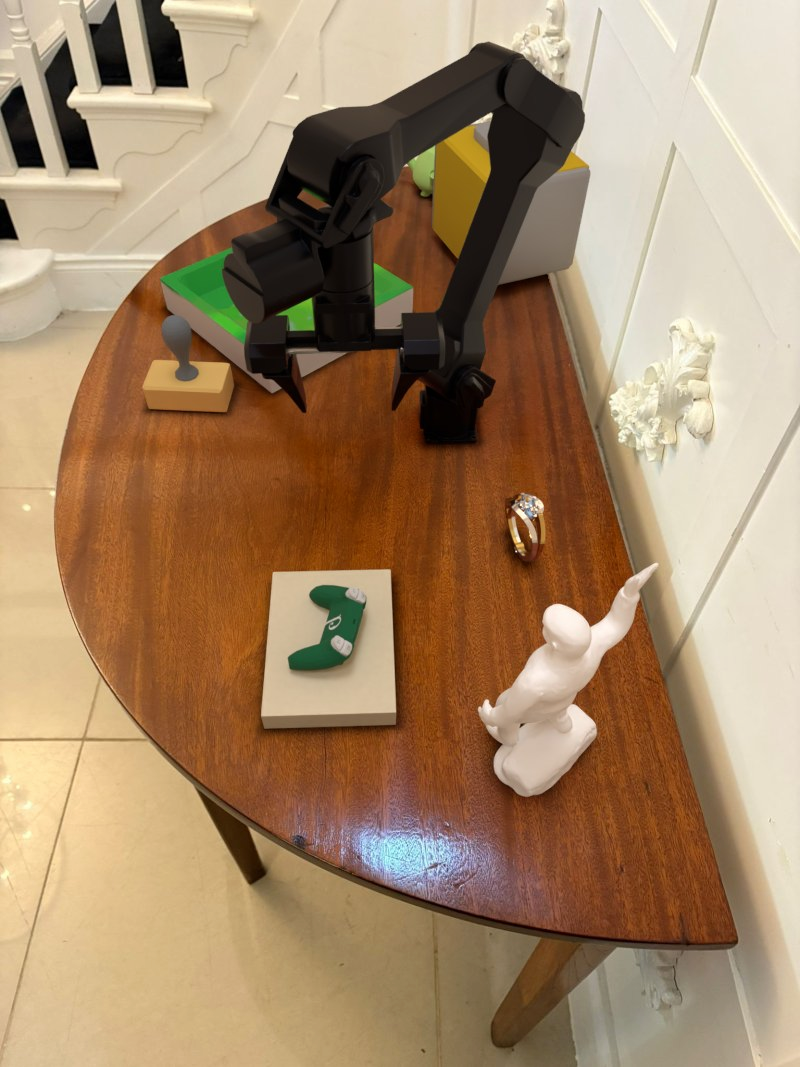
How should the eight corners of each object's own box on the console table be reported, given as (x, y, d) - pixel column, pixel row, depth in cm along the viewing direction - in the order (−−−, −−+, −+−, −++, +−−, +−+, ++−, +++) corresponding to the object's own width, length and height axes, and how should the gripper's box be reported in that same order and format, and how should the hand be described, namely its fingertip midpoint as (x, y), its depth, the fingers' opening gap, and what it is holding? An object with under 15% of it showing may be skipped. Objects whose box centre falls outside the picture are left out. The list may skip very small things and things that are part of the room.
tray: (412, 317, 111) (413, 286, 107) (271, 393, 100) (267, 362, 96) (304, 247, 123) (301, 217, 119) (167, 309, 112) (159, 278, 108)
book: (390, 581, 81) (390, 567, 79) (396, 725, 71) (396, 712, 69) (275, 584, 81) (272, 570, 79) (264, 728, 70) (260, 716, 68)
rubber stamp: (234, 384, 101) (219, 304, 92) (226, 414, 98) (209, 334, 88) (159, 381, 101) (136, 301, 92) (148, 410, 98) (123, 330, 88)
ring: (543, 572, 82) (556, 523, 76) (515, 578, 82) (525, 529, 76) (521, 524, 87) (531, 474, 80) (493, 529, 86) (502, 479, 80)
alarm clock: (575, 280, 118) (600, 157, 104) (481, 302, 114) (495, 178, 100) (514, 219, 129) (530, 101, 115) (428, 237, 125) (433, 117, 111)
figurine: (570, 693, 73) (636, 521, 54) (612, 774, 68) (701, 615, 49) (452, 730, 71) (476, 562, 51) (487, 816, 66) (528, 666, 46)
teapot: (448, 169, 141) (451, 120, 134) (485, 196, 134) (490, 146, 128) (395, 184, 137) (396, 134, 130) (430, 212, 131) (433, 161, 124)
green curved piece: (311, 686, 72) (354, 672, 69) (281, 666, 71) (323, 650, 67) (336, 606, 78) (377, 589, 74) (308, 586, 76) (349, 567, 73)
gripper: (439, 226, 74) (432, 358, 86) (243, 229, 73) (263, 362, 85) (450, 293, 67) (440, 427, 79) (232, 297, 66) (256, 431, 78)
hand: (349, 409), depth 81 cm, fingers open, 9 cm apart
